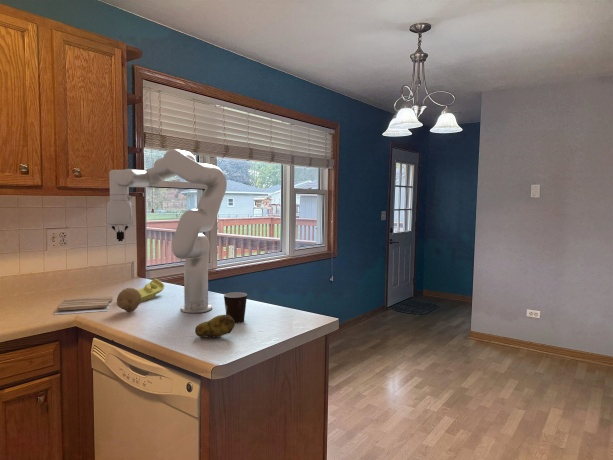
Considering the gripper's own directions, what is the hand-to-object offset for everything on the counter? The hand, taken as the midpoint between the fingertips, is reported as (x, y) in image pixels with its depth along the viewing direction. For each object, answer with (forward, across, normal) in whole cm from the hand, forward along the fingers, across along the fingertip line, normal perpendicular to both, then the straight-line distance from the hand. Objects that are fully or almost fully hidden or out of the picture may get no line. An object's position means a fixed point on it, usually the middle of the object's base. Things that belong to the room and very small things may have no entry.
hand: (120, 240), depth 187 cm
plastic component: (+28, -9, -6) cm, 30 cm away
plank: (+27, +14, +6) cm, 31 cm away
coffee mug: (+27, -42, +45) cm, 67 cm away
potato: (+27, -33, +61) cm, 74 cm away
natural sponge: (+27, -4, +19) cm, 34 cm away
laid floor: (+27, +14, +4) cm, 31 cm away
